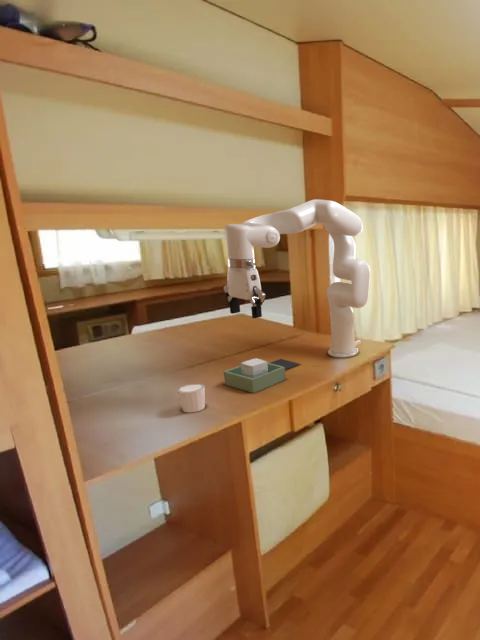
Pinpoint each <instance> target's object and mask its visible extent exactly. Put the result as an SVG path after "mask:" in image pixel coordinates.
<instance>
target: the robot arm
mask: <svg viewBox="0 0 480 640" xmlns="http://www.w3.org/2000/svg"><path fill="white" fill-rule="evenodd" d="M319 224H322V226H323V227H324V229H325V231H327V233H328V234H329V235H330V238H331V239H332V241H333V259H332V274H333V276H335V278H338V279H341V280H344V281H345V280H346V281H350V282H351V283H349V282H342V281H335V282H332V283H331V284H329V286H328V287H327V290H326V297H327V302H328V306H329V313H330V336H331V338H330V341H331V348H329V349H328V350H327V353H328V355H329V356H331V357H334V358H350V357H351V358H352V357H354V356H357V355H358V354H359V348H358V347H357V346H358V345H360V344H361V343H362V341H361V339H357V340H355V314H354V310H353V308H354V309H361V308H363V307H365V306H366V304H367V303H368V299H369V294H370V293H369V292H370V283H371V282H370V281H371V268H370V265H369V263H368V262H367V261H366V260H364V259H361V258H356V250H357V247H356V242H355V239H354V237H357V236H358V235H360V234H361V233H362V232H363V228H364V224H363V221H362V219H361V217H360V216H359V215H357V214H356V213H355V212H353V211H351V210H350V209H348V208H347V207H345V206H344V205H342V204H340V203H339V202H336V201H334V200H327V199H318V198H317V199H316V198H315V199H311V200H307V201H306V202H303V203H300V204H298V205H296V206H293V207H291V208H290V207H289V208H287V209H285V210H284V209H283V210H279V211H275V212H271V213H266V214H262V215H258V216H255V217H252V218H250V219H247V220H245V221H243V222H241V223H230V224H229V223H228V224H226V225H225V226H224V240H225V249H226V259H227V275H226V276H227V277H226V280H227V281H226V283H227V284H226V285H224V286H223V289H222V290H223V291H224V293H225V295H224V296H226V298H227V302H228V303H229V312H230V314H233V315H234V314H238V313H241V305H240V304H241V303H240V300H239V299H241V300H245V301H248V302H250V304H251V305H252V306H250V308H251V309H250V310H251V318H252V319H258V318H262V317H263V313H262V306H263V303H264V302H265V299H266V293H265V292H263V290H262V285H261V279H260V275H259V271H258V268H256V259H255V248H264V249H270V248H271V249H272V248H273V247H276V246H277V245H278V244H279V242H280V239H281V235H292V234H298V233H302V232H304V231H306V230H308V229H310V228H312V227H315V226H317V225H319Z"/></svg>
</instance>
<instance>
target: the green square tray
mask: <svg viewBox="0 0 480 640" xmlns="http://www.w3.org/2000/svg"><path fill="white" fill-rule="evenodd" d="M267 365H268V373H265V374H263V375H260V376H258V377H255V378H253V379H252V378H249V377H245V376H242V368H241V365H238V366H236V367H233V368H230V369H227V370H224V371H223V381H224V385H226V386H229V387H232V388H235V389H238V390H243V391H245V392H249V393H252V394H255V393H257V392H259V391H262V390H265V389H267V388H269V387H271V386H273V385H276V384H279V383H281V382H284V381H286V380H287V378H286V370H285V367H283V366H279V365H275V364H271V362H267Z"/></svg>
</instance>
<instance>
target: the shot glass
mask: <svg viewBox="0 0 480 640" xmlns="http://www.w3.org/2000/svg"><path fill="white" fill-rule="evenodd" d="M176 391H177V394H178V395H177V396H178V398H179V402H180V404H181V409H182V412H184V413H196V412H199V411H203V410H204V409H205V407H206V393H205V391H206V389H205V384H202V383H188V384H185V385H182V386H180V387H178V388H177V390H176Z"/></svg>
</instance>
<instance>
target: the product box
mask: <svg viewBox="0 0 480 640" xmlns="http://www.w3.org/2000/svg"><path fill="white" fill-rule="evenodd" d="M267 363H268V361H266V360H263V359H260V358H257V357H255V358H252V359H248V360H244V361H242V362H240V366H241V368H242V376H245V377H249V378H252V379H253V378H255V377H258V376H260V375H263V374H265V373H268V365H267Z"/></svg>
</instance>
